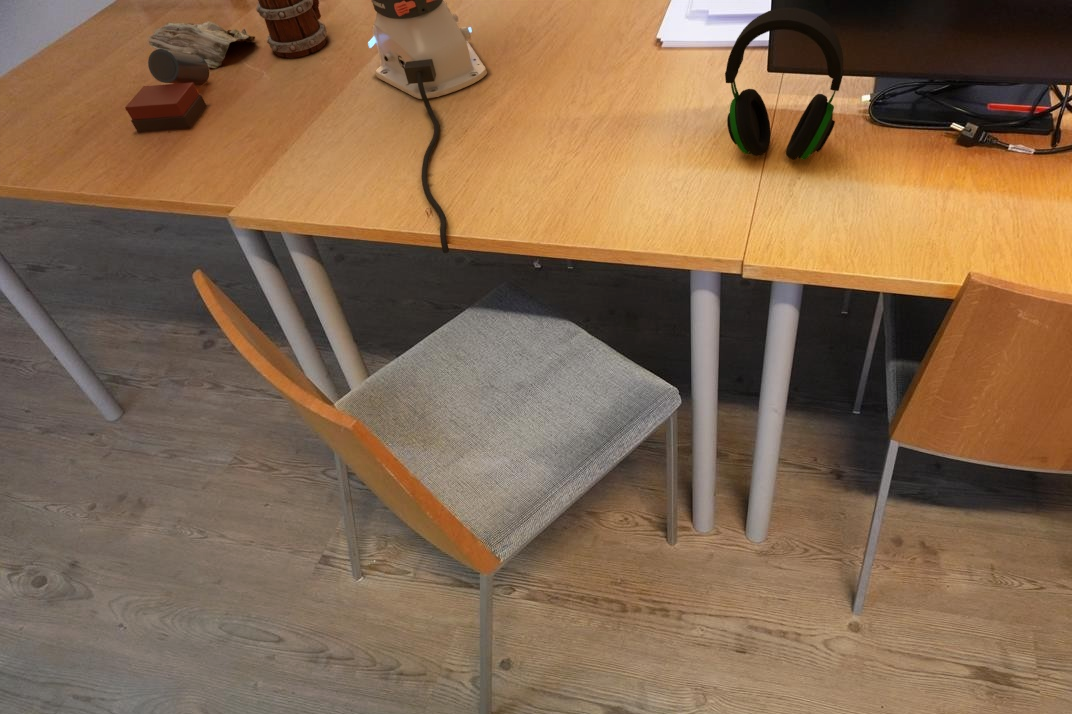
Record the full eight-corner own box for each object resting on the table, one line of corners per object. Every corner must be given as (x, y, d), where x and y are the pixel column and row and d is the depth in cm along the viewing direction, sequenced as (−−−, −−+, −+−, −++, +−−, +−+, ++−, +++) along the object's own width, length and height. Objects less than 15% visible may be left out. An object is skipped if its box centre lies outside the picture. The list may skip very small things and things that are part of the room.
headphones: (826, 175, 109) (846, 32, 94) (717, 164, 114) (720, 26, 99) (835, 140, 115) (856, 0, 100) (731, 131, 119) (736, -5, 104)
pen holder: (212, 84, 148) (181, 81, 138) (185, 87, 148) (152, 84, 139) (205, 53, 146) (173, 47, 136) (178, 55, 146) (144, 50, 137)
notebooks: (190, 128, 137) (176, 103, 133) (137, 132, 138) (122, 107, 134) (207, 106, 142) (194, 81, 139) (156, 109, 143) (142, 85, 140)
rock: (225, 88, 153) (275, 46, 160) (210, 57, 147) (261, 14, 154) (139, 55, 159) (190, 15, 166) (121, 23, 153) (174, -16, 160)
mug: (255, 57, 153) (230, -28, 144) (303, 38, 163) (283, -43, 154) (302, 62, 150) (279, -24, 140) (348, 43, 160) (330, -39, 150)
